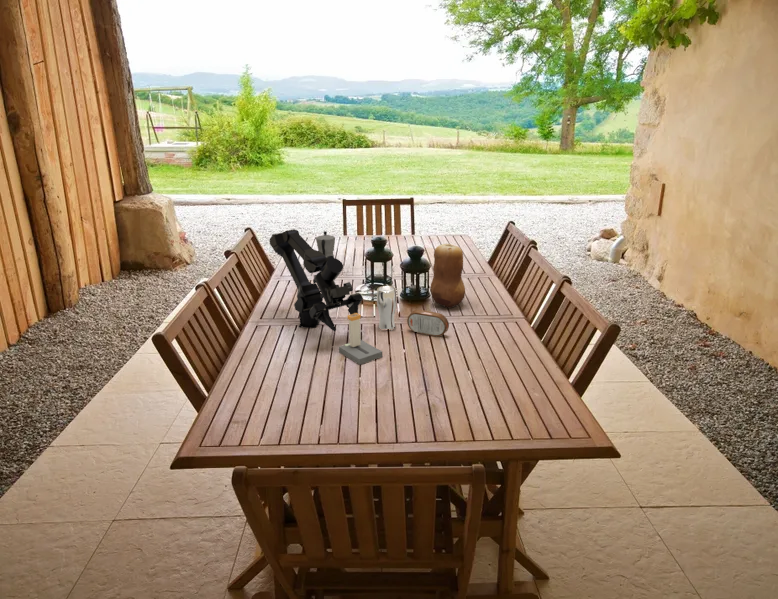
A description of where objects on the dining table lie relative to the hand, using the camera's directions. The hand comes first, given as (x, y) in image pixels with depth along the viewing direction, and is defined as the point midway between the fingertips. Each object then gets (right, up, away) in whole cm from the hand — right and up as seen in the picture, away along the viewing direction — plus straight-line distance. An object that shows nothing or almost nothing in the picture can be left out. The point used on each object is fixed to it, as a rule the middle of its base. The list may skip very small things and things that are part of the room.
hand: (346, 327), depth 193 cm
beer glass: (+13, -1, +18) cm, 22 cm away
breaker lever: (+3, -6, -2) cm, 7 cm away
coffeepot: (-16, +24, +89) cm, 94 cm away
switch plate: (+5, -9, -3) cm, 11 cm away
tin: (+28, -3, +12) cm, 31 cm away
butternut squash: (+37, +7, +39) cm, 54 cm away
